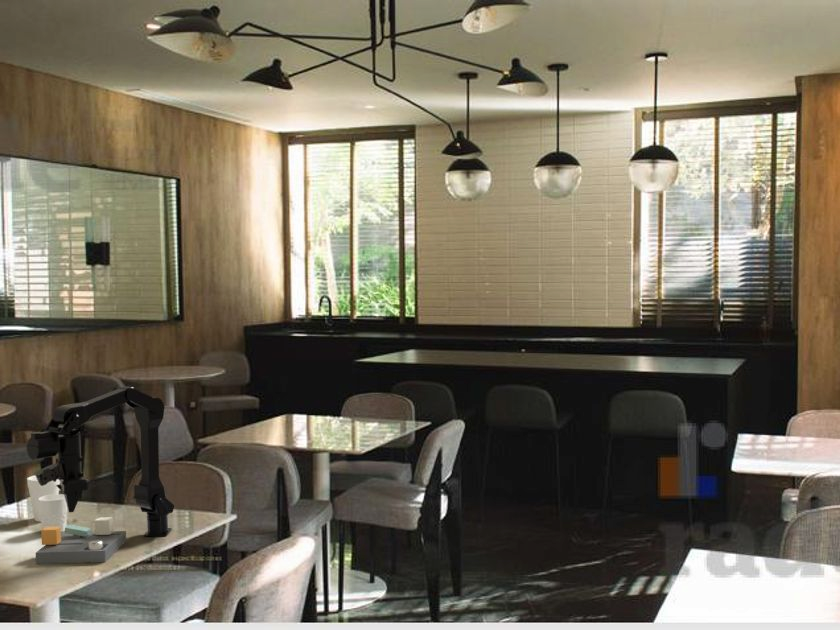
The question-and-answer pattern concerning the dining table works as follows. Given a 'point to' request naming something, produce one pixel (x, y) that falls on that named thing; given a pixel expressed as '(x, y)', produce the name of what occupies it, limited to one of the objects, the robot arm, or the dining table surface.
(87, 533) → the rocker teal
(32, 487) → the foam cup
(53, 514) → the white cup
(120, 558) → the dining table surface
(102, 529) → the beige block
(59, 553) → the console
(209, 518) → the dining table surface
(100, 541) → the clear cube
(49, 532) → the fader orange
